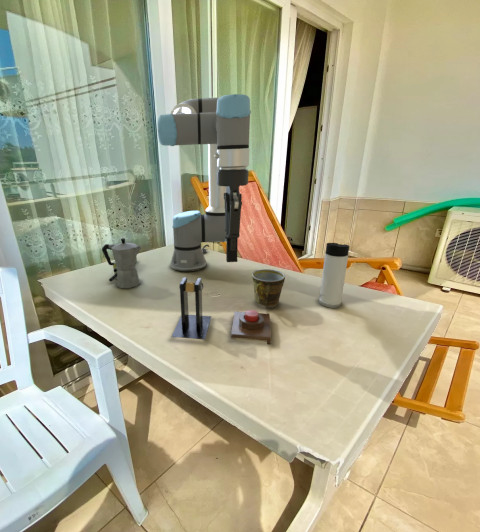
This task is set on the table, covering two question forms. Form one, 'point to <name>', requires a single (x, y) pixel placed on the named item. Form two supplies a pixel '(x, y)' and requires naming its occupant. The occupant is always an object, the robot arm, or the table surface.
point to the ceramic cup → (267, 286)
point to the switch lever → (191, 287)
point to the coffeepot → (124, 263)
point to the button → (251, 315)
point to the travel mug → (333, 274)
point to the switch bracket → (188, 323)
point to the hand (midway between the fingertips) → (231, 261)
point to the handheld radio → (115, 271)
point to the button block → (251, 327)
